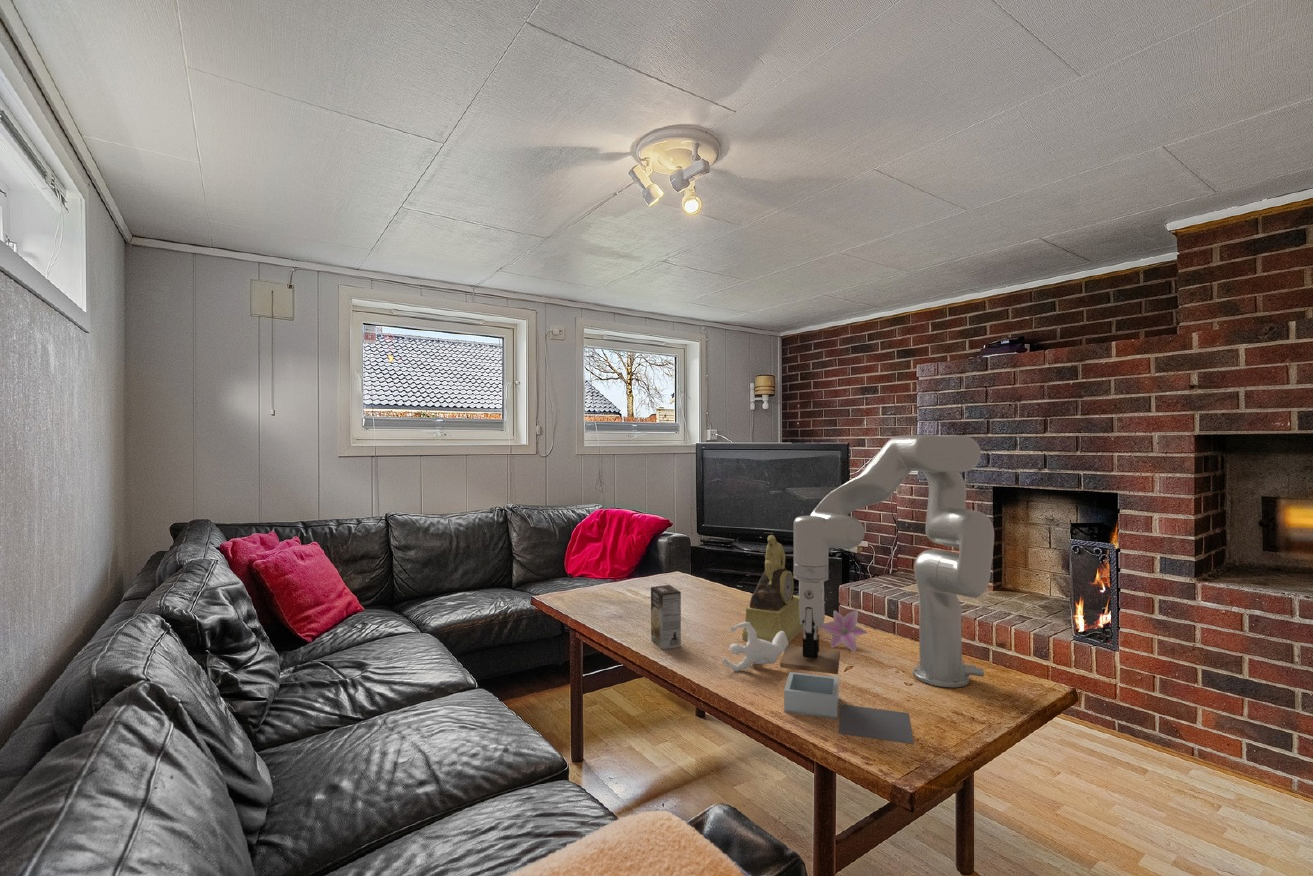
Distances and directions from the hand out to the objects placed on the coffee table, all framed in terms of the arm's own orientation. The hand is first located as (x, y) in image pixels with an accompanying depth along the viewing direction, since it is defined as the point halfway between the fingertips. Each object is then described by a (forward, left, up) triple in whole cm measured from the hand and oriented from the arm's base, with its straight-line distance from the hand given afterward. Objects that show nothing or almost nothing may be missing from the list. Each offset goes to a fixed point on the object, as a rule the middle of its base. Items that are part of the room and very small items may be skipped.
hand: (810, 653), depth 134 cm
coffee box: (+44, -30, -12) cm, 54 cm away
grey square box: (0, 0, -12) cm, 12 cm away
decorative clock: (+14, -53, -12) cm, 56 cm away
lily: (-6, -44, -12) cm, 46 cm away
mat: (-13, +5, -12) cm, 18 cm away
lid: (0, 0, -2) cm, 2 cm away
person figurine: (+14, -19, -12) cm, 27 cm away
